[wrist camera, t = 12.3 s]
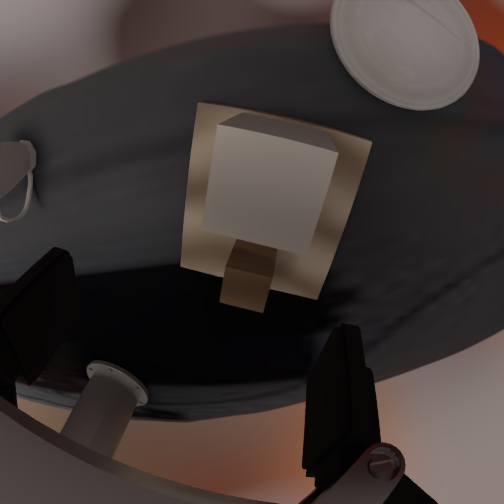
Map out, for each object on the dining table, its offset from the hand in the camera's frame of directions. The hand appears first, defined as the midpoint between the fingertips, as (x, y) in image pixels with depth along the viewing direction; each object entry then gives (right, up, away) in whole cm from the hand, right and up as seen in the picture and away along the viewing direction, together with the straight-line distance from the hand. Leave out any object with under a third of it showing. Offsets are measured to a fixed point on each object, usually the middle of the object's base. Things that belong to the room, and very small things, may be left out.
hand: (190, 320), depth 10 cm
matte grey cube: (+4, +9, +14) cm, 17 cm away
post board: (+3, +7, +17) cm, 19 cm away
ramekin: (+13, +19, +9) cm, 25 cm away
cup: (-25, +13, +19) cm, 34 cm away
